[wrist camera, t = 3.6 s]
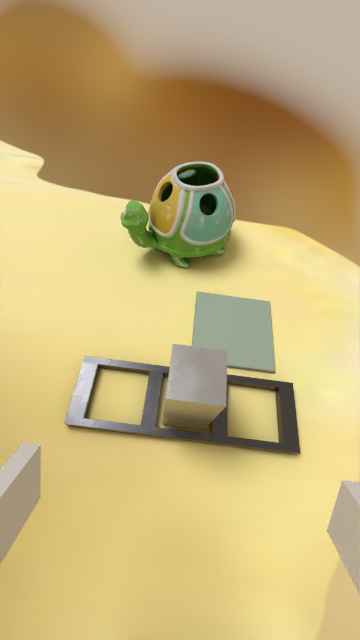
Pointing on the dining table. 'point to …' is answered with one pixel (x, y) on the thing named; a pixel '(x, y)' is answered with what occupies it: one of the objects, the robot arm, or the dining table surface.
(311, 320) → the dining table surface
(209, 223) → the turtle holder
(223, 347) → the mat
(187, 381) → the gray rectangular brick
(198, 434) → the dark brown flat frame
